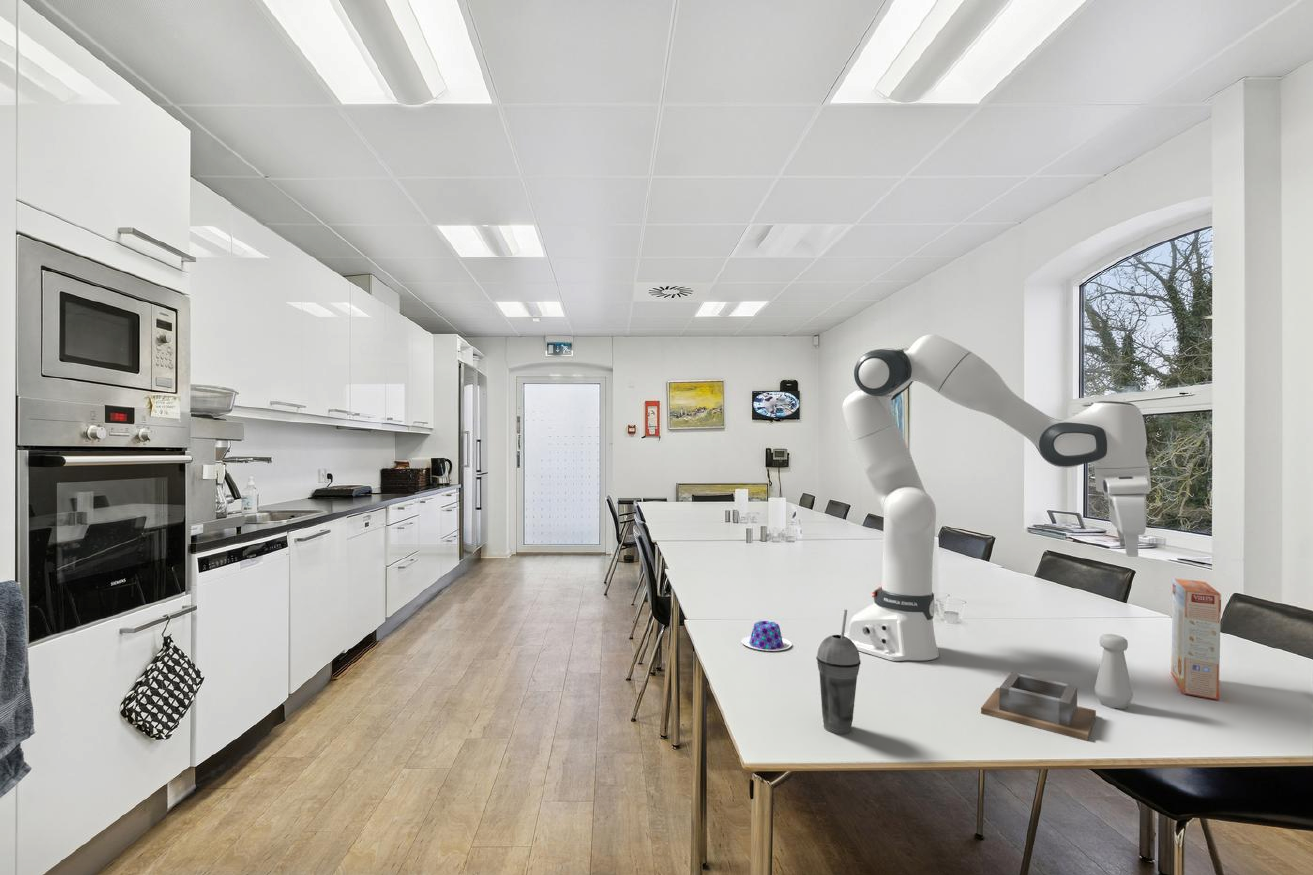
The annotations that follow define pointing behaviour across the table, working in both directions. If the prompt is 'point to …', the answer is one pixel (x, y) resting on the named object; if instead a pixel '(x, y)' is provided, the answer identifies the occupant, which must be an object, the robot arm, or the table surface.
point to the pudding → (766, 637)
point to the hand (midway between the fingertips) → (1128, 552)
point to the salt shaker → (1113, 673)
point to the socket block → (1040, 705)
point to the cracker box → (1196, 638)
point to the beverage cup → (838, 680)
